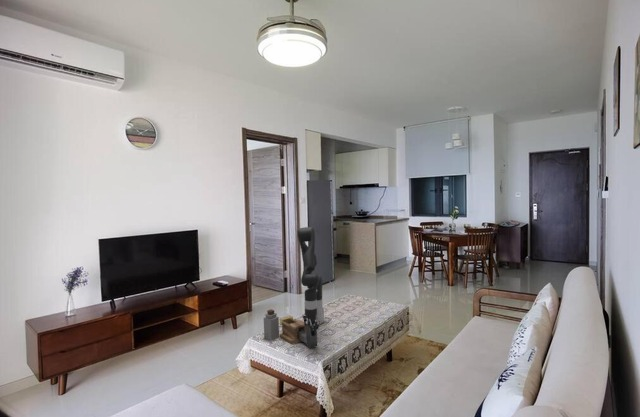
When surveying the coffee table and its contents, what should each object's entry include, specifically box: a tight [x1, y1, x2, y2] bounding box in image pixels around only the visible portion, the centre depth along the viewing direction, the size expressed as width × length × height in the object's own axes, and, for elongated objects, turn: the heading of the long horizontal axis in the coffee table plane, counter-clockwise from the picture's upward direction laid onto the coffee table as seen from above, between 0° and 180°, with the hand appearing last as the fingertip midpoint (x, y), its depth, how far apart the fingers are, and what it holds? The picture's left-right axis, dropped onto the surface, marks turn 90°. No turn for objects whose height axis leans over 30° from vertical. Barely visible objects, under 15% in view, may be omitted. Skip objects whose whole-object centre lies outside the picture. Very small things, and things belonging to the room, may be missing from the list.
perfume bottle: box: [263, 308, 280, 342], centre depth 227 cm, size 7×7×18 cm
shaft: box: [297, 324, 318, 349], centre depth 221 cm, size 5×28×14 cm, turn 39°
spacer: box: [279, 315, 294, 326], centre depth 233 cm, size 8×4×4 cm, turn 129°
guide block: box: [279, 318, 306, 345], centre depth 226 cm, size 14×14×10 cm
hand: (311, 334), depth 212 cm, fingers closed on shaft, 4 cm apart
